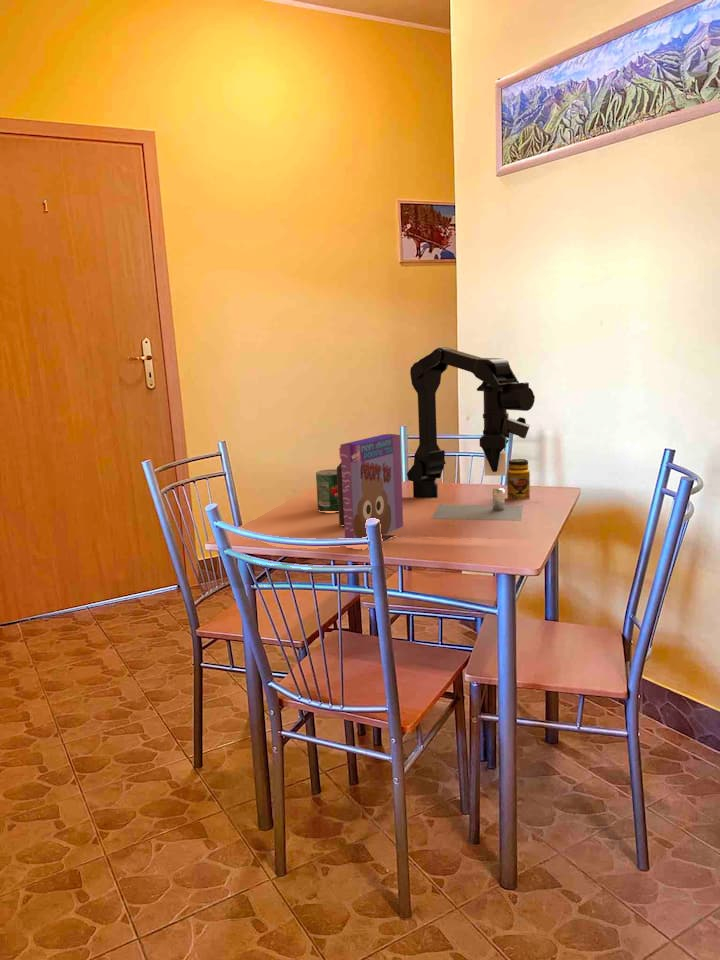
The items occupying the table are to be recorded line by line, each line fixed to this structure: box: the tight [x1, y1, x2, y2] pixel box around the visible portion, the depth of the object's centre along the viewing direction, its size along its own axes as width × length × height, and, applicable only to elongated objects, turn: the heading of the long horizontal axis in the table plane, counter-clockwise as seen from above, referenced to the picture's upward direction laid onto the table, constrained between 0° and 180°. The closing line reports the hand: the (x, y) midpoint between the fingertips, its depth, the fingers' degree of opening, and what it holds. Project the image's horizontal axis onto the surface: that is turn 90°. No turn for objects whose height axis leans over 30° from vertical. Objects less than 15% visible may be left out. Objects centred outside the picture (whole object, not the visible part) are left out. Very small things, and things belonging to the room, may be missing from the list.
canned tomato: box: [315, 469, 339, 511], centre depth 198 cm, size 8×8×11 cm
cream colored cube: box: [483, 450, 508, 477], centre depth 182 cm, size 5×5×6 cm
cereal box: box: [339, 433, 404, 542], centre depth 165 cm, size 17×5×24 cm, turn 145°
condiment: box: [506, 458, 537, 503], centre depth 198 cm, size 7×8×12 cm
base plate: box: [431, 503, 524, 522], centre depth 183 cm, size 22×16×2 cm
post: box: [492, 487, 506, 511], centre depth 184 cm, size 3×3×6 cm
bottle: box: [336, 447, 344, 525], centre depth 180 cm, size 7×7×20 cm
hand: (495, 469), depth 182 cm, fingers closed on cream colored cube, 5 cm apart
